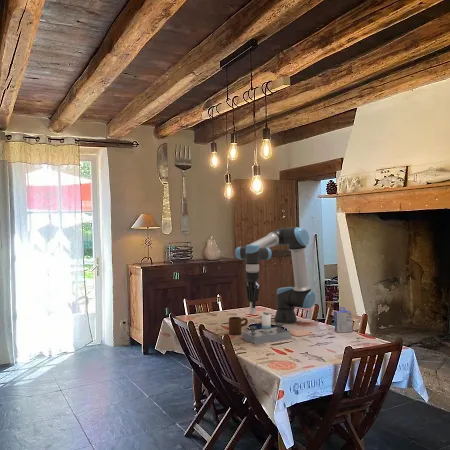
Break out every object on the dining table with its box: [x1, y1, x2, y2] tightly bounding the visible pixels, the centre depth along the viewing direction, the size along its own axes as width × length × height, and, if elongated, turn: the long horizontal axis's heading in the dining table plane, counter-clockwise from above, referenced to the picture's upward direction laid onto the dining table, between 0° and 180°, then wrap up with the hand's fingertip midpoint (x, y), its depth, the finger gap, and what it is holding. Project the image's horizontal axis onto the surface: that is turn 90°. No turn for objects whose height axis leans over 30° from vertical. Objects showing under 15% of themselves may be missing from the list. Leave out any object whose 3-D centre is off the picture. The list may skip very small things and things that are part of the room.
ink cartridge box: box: [333, 306, 353, 333], centre depth 275 cm, size 10×6×14 cm, turn 97°
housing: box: [241, 326, 292, 345], centre depth 258 cm, size 14×24×4 cm, turn 118°
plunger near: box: [248, 325, 258, 335], centre depth 254 cm, size 4×4×5 cm
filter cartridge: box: [261, 311, 272, 334], centre depth 258 cm, size 5×5×15 cm
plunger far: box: [275, 322, 284, 331], centre depth 262 cm, size 4×4×5 cm
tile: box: [290, 329, 315, 338], centre depth 270 cm, size 12×12×1 cm
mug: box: [228, 316, 249, 336], centre depth 273 cm, size 12×8×9 cm, turn 104°
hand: (252, 313), depth 254 cm, fingers closed
